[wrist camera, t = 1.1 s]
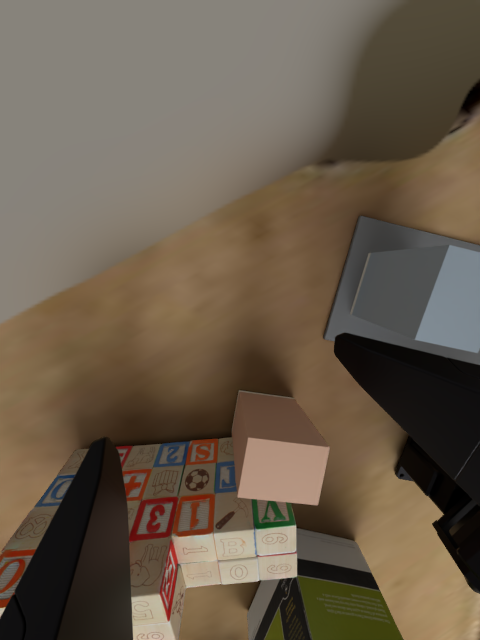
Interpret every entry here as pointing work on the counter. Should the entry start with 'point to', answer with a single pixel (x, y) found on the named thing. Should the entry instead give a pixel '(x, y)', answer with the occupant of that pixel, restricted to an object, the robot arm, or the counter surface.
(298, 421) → the dusty pink block
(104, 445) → the robot arm
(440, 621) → the counter surface
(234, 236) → the counter surface
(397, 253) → the slate blue block
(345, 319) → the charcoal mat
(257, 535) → the stack of blocks
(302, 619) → the tea box
